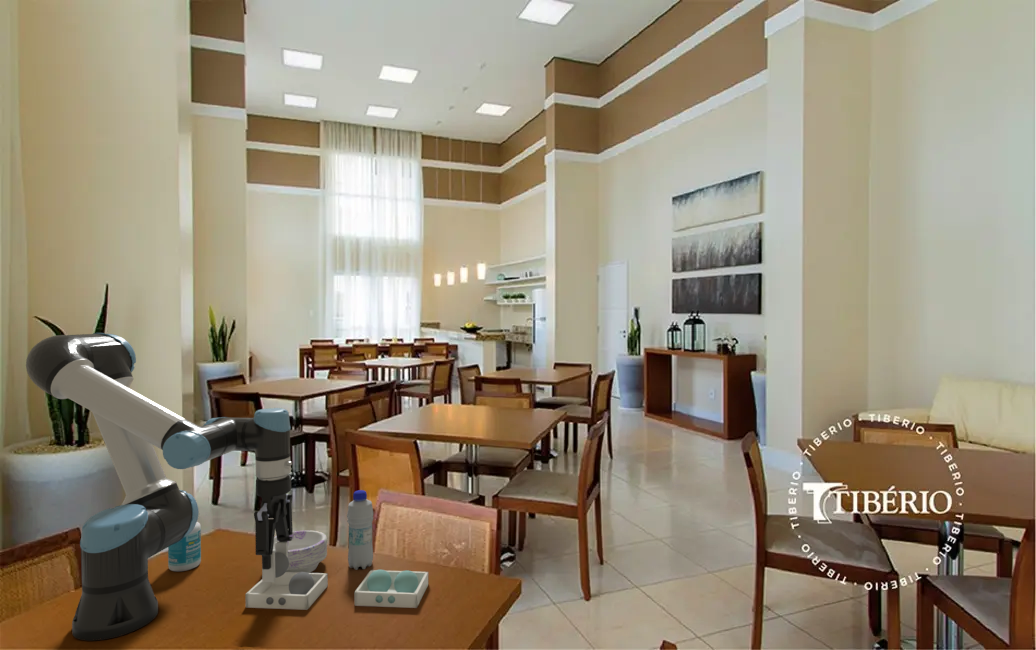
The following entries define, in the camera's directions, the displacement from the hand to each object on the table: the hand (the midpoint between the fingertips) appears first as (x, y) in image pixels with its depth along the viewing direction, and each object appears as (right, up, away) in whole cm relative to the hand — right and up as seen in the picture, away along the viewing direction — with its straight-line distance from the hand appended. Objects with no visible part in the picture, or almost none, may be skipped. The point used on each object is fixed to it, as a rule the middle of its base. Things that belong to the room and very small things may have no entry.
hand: (275, 575), depth 135 cm
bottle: (+15, -5, +16) cm, 23 cm away
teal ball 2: (+30, -5, 0) cm, 31 cm away
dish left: (+3, -5, 0) cm, 6 cm away
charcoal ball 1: (0, 0, 0) cm, 0 cm away
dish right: (+27, -5, 0) cm, 28 cm away
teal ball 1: (+24, -5, +1) cm, 24 cm away
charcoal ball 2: (+6, -5, 0) cm, 8 cm away
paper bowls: (-1, -5, +15) cm, 16 cm away
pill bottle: (-31, -5, +17) cm, 36 cm away
